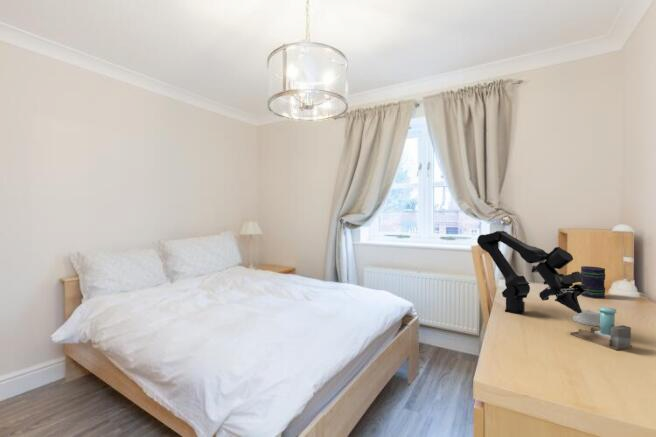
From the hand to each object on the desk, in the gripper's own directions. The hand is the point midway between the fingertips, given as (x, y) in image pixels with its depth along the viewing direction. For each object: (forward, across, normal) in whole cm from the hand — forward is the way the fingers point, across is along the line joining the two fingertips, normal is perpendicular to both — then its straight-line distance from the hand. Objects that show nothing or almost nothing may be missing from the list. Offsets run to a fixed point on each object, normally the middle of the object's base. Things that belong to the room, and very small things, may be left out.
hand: (580, 312), depth 111 cm
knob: (+11, 0, -1) cm, 11 cm away
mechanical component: (0, +17, +11) cm, 20 cm away
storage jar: (-18, +61, +30) cm, 70 cm away
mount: (+10, 0, +1) cm, 10 cm away
